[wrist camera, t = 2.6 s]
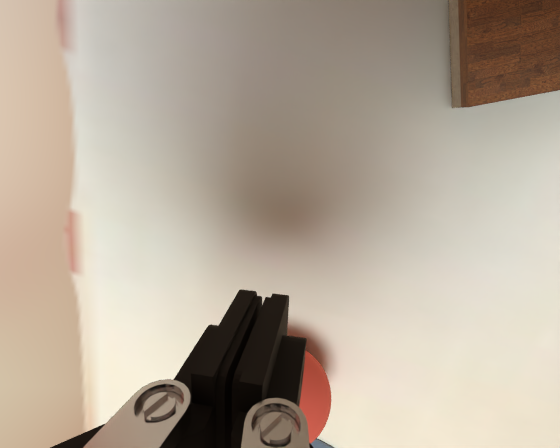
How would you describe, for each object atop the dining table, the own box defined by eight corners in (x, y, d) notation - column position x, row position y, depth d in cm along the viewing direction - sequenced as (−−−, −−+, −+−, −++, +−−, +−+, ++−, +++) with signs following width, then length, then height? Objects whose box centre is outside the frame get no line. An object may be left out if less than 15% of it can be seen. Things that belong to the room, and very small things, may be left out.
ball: (249, 319, 21) (219, 386, 16) (336, 331, 20) (335, 407, 15) (248, 386, 23) (221, 467, 17) (328, 400, 22) (324, 489, 17)
